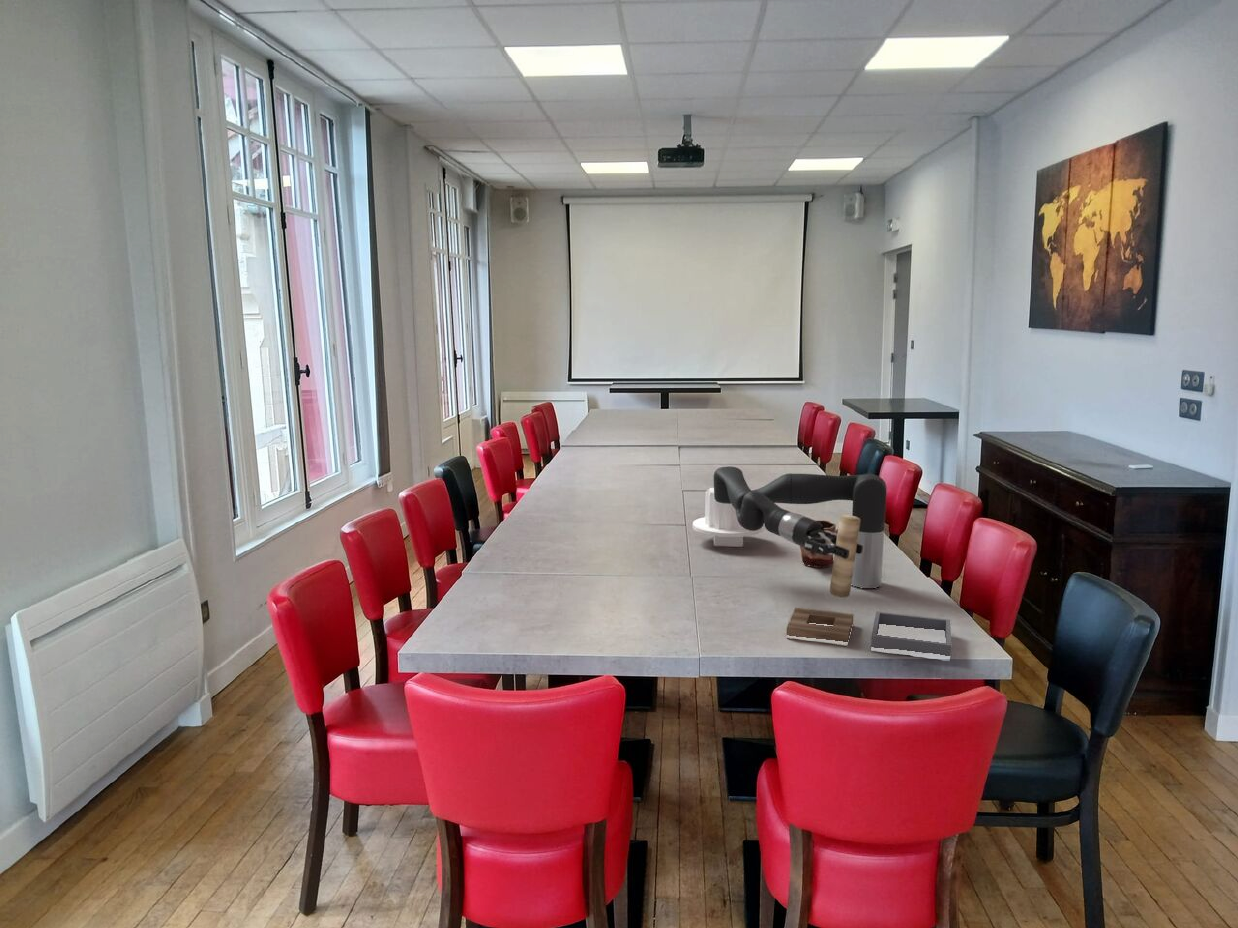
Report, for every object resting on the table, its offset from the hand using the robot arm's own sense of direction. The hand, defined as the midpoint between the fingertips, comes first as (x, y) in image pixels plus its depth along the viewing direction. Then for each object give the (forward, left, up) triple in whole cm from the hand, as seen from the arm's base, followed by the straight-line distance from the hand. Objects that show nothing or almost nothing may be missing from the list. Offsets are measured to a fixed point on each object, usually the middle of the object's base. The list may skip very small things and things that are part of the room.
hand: (854, 552), depth 210 cm
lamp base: (-78, -49, -23) cm, 95 cm away
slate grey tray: (-3, +14, -23) cm, 27 cm away
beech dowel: (-3, -3, -12) cm, 12 cm away
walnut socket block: (-3, -8, -23) cm, 24 cm away
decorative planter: (-61, -16, -23) cm, 67 cm away
